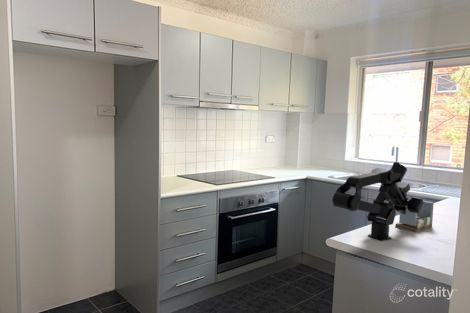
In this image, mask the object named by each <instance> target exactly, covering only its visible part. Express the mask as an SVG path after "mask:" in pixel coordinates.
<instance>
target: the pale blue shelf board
mask: <svg viewBox="0 0 470 313" xmlns="http://www.w3.org/2000/svg"><path fill="white" fill-rule="evenodd" d="M398 219H399V222H398V223H403V224H407V225H411V226H417V225H418V220H419V219H421V220H424V219H423V218H419V217H417V213H414V212H410V211H408V209H406V214H402V213H400V212H399V218H398Z"/></svg>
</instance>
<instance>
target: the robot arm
mask: <svg viewBox="0 0 470 313" xmlns="http://www.w3.org/2000/svg"><path fill="white" fill-rule="evenodd" d="M407 172H408V169H407V167H406V166H404V165H403V164H401V163H400V162H398V161H397V162H396V161H394V162H393V164H392V167H391V168H383V167H382V168H381V167H376V168H373V169H372V170H371V172H370V173H369V172H368V173H363V174H360V175H355V176H349V177H347V179H346V180H345V182H344V183H343V184H341V185H340V186H339V187H338V188H337V189H336V191H335V193H334V195H333V196H332V199H331V200H332V204H333V207H334V208H337V209H341V210H345V211H349V212H355V211H363V212H367V213H368V215H367V216H366V219H367V221H368V222H371V227H370V228H371V229H370V230H371V232H370V234H367V236H368V237H370V238H372V239H376V240H378V241H385V240H391V239H392V236H389V235H390V226H392V225H394V222H395V218H396V215H397V214H396V212H398V213H399V214H400V213H402V214H406V209H408V211H410V212H414V213H419V211H420V209H421V207H422V205H423V203H424V202H423V201H424V200H423V198H421V197H416V196H411V198H409V197H407V196H408V194H407V193H409V191H411V187H410V186H411V185H410V182H408V181H403V178H404V177H405V175H406V173H407ZM375 184H380V186H379V189H378V193H377V196H376V197H375V198H374V199H373V200H372V203H371V202H368V201H364V200H361V199H362V191H361V190H362V189H363V188H364V187H367V186H372V185H375ZM350 189H355V193H354V194H351V193H347V192H348V191H349V190H350Z"/></svg>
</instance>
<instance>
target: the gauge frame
mask: <svg viewBox="0 0 470 313" xmlns="http://www.w3.org/2000/svg"><path fill="white" fill-rule="evenodd" d="M432 227H433V223H432V224H430V217H427V218H424V220H421V219H420V220H418V225H417V226H411V225H407V224H403V223H399V222H396V223H395V228H397V229H398V228H399V229H403V230H407V231H410V232H414V233H417V232H420V231H423V230H425V229H430V228H432Z"/></svg>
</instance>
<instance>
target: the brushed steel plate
mask: <svg viewBox="0 0 470 313" xmlns="http://www.w3.org/2000/svg"><path fill="white" fill-rule="evenodd" d="M423 202H424V203H423V205H422V207H421V209H420V211H419V213H417V217H419V218H423V219H424V218H427V217H430V224H432V225H433V218H434V217H433V216H434V202H433V201H427V200H423ZM419 220H420V219H419Z"/></svg>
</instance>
